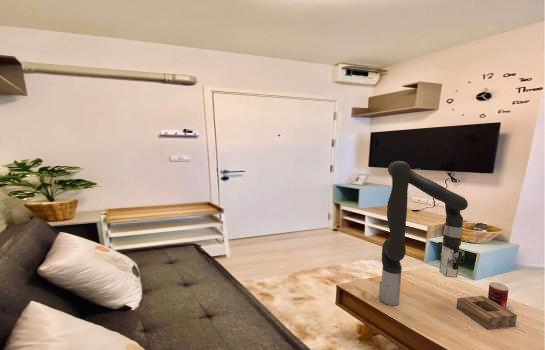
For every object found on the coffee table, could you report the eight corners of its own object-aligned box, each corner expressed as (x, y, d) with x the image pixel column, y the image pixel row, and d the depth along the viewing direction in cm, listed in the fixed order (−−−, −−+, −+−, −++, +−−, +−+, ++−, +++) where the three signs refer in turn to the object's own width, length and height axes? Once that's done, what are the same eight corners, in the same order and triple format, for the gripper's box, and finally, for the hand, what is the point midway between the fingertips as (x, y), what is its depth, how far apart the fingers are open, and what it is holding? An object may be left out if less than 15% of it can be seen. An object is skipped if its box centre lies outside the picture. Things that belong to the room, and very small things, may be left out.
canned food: (502, 303, 138) (505, 284, 137) (508, 311, 131) (511, 291, 130) (485, 299, 142) (487, 280, 140) (490, 307, 134) (492, 287, 133)
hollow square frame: (487, 329, 117) (488, 318, 117) (456, 308, 133) (457, 298, 132) (515, 326, 120) (516, 315, 120) (482, 305, 136) (483, 295, 135)
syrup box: (450, 272, 134) (453, 245, 132) (457, 278, 128) (460, 250, 126) (439, 271, 134) (441, 245, 133) (445, 277, 128) (448, 249, 127)
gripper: (434, 230, 135) (431, 260, 137) (458, 239, 121) (455, 273, 123) (446, 229, 137) (443, 259, 138) (472, 239, 123) (468, 272, 124)
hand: (449, 266), depth 131 cm, fingers closed on syrup box, 6 cm apart
